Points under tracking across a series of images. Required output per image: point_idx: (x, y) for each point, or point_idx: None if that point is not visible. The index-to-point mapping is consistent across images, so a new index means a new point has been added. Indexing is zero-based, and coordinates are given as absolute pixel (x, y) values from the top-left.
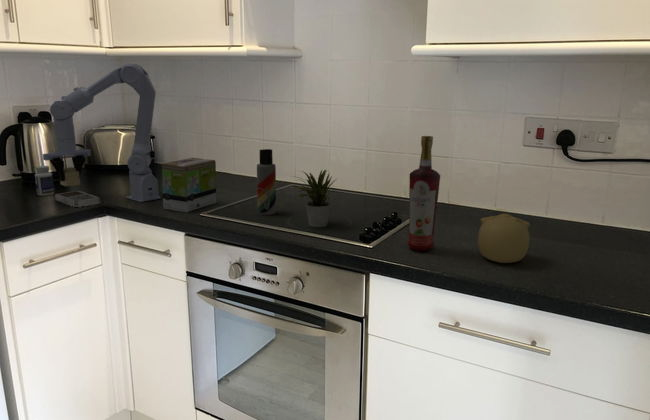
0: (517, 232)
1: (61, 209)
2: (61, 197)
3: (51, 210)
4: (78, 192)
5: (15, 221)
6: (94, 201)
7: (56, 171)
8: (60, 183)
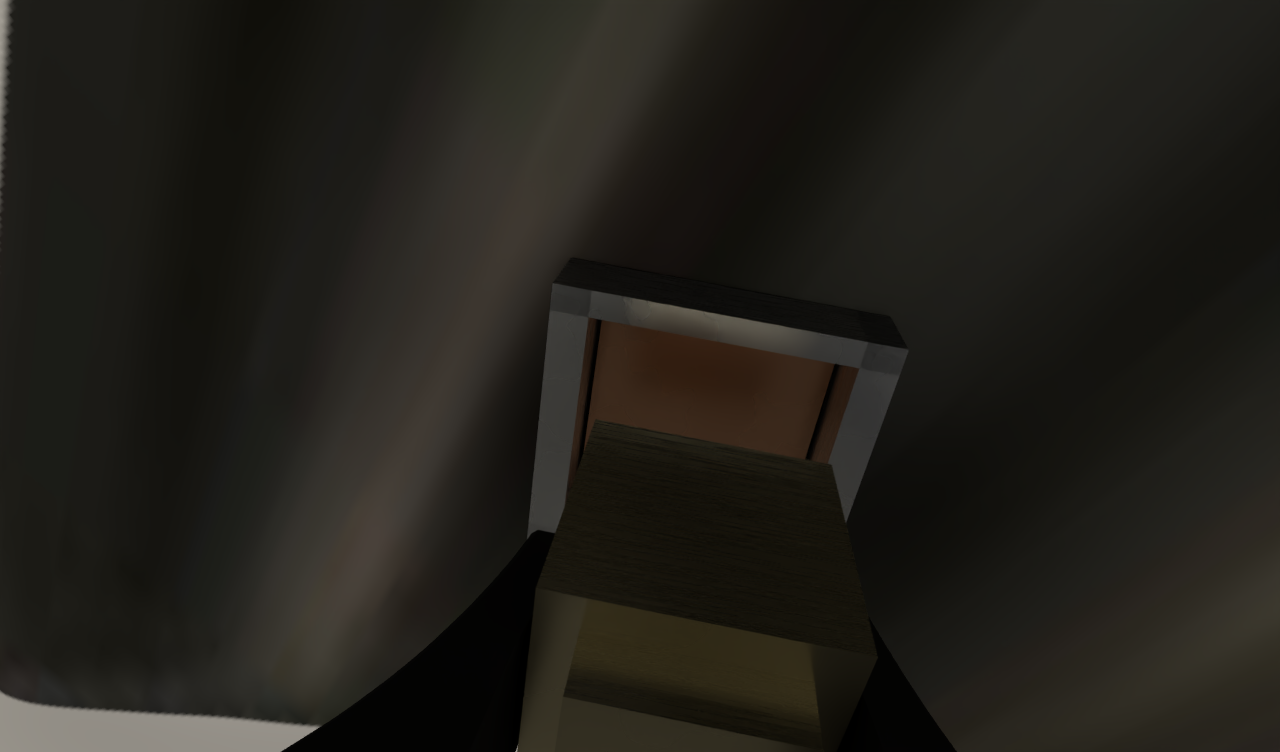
0: None
1: (421, 617)
2: (536, 466)
3: (345, 581)
4: (843, 406)
5: (41, 621)
6: None
7: (441, 635)
8: (593, 430)
